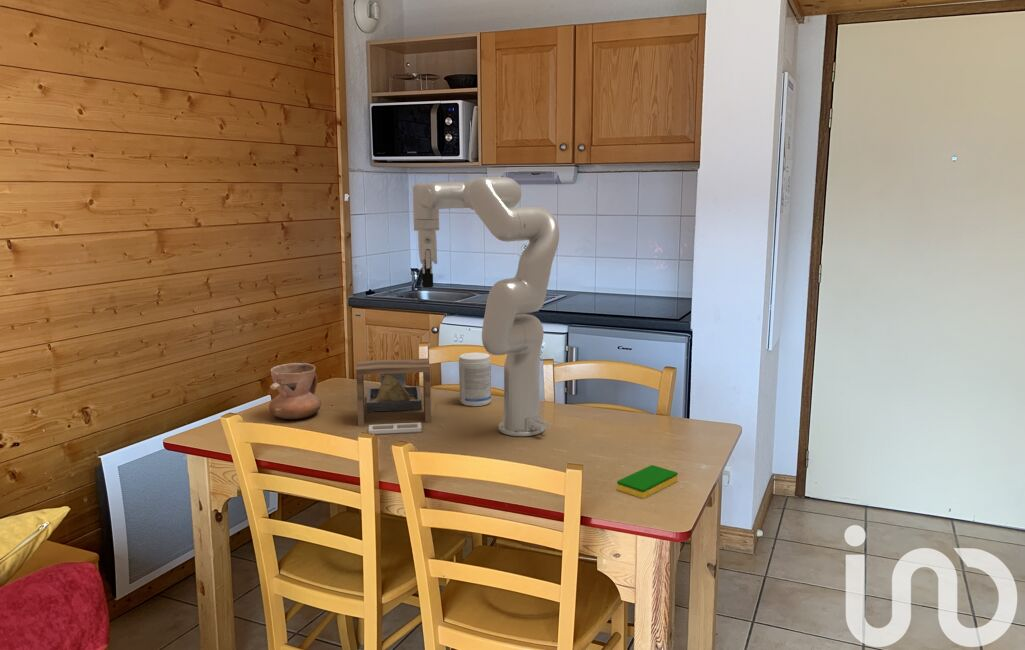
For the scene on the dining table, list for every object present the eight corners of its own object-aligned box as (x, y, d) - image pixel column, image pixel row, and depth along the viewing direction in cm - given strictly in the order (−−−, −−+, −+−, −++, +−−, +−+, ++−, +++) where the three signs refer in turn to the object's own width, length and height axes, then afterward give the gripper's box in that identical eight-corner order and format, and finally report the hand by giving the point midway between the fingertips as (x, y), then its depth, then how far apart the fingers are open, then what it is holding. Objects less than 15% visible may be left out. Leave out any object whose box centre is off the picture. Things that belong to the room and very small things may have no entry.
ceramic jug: (294, 427, 214) (291, 377, 211) (255, 420, 220) (252, 371, 217) (337, 410, 229) (335, 363, 226) (299, 403, 236) (297, 358, 233)
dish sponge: (678, 482, 176) (678, 472, 176) (642, 500, 167) (643, 489, 166) (651, 474, 181) (652, 464, 181) (616, 491, 171) (616, 481, 171)
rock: (422, 398, 233) (396, 389, 238) (413, 380, 227) (386, 371, 232) (402, 426, 228) (376, 416, 232) (393, 409, 222) (366, 399, 226)
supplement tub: (497, 402, 237) (497, 355, 234) (474, 409, 230) (474, 360, 228) (476, 396, 244) (475, 350, 241) (453, 402, 237) (452, 355, 234)
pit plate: (421, 432, 209) (421, 428, 209) (368, 435, 207) (368, 430, 207) (420, 426, 214) (420, 422, 214) (369, 429, 212) (369, 425, 212)
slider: (421, 409, 229) (421, 378, 228) (366, 411, 227) (365, 381, 225) (418, 386, 253) (417, 359, 251) (368, 389, 251) (367, 361, 249)
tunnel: (431, 422, 218) (429, 366, 215) (358, 425, 215) (356, 369, 212) (429, 411, 228) (428, 358, 225) (359, 415, 225) (357, 361, 222)
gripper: (440, 226, 223) (442, 290, 227) (437, 223, 238) (438, 283, 241) (414, 227, 222) (416, 290, 225) (412, 223, 237) (414, 283, 240)
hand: (427, 286), depth 233 cm, fingers closed
